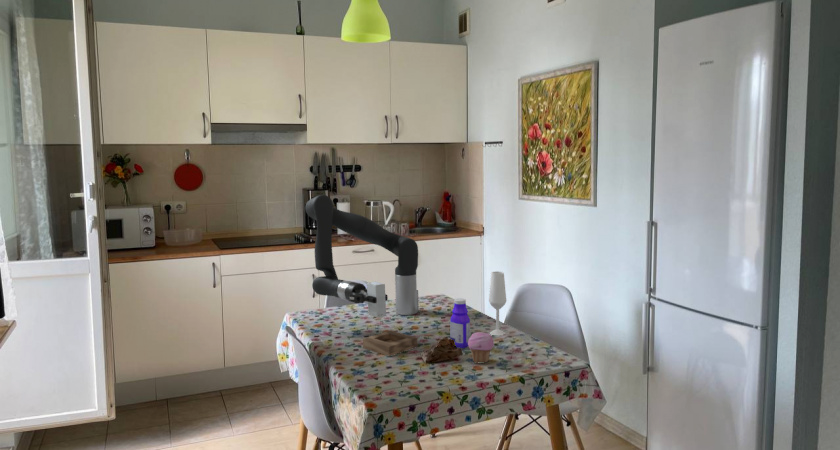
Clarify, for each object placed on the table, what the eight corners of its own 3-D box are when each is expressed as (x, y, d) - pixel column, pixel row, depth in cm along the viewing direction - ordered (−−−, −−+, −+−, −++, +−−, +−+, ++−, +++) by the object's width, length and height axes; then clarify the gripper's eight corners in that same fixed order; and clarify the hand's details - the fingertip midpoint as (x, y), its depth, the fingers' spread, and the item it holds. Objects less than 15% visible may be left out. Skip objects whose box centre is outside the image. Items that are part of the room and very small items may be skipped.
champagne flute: (486, 335, 245) (486, 273, 242) (492, 330, 251) (492, 270, 248) (502, 337, 242) (502, 275, 239) (508, 332, 248) (508, 271, 245)
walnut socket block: (391, 339, 242) (390, 330, 242) (417, 346, 232) (417, 337, 232) (362, 348, 232) (362, 338, 232) (389, 356, 222) (389, 346, 222)
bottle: (473, 346, 232) (472, 299, 230) (463, 350, 228) (462, 302, 226) (457, 342, 237) (457, 296, 235) (447, 345, 233) (447, 299, 231)
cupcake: (467, 357, 220) (467, 329, 219) (492, 357, 220) (492, 328, 219) (468, 366, 211) (468, 336, 210) (494, 366, 211) (494, 336, 210)
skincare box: (386, 316, 233) (386, 283, 231) (376, 318, 230) (376, 285, 229) (377, 312, 238) (376, 280, 236) (367, 314, 235) (366, 282, 233)
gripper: (336, 285, 238) (366, 292, 226) (365, 279, 248) (395, 285, 236) (337, 304, 239) (366, 313, 227) (366, 297, 249) (396, 305, 237)
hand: (381, 299), depth 231 cm, fingers closed on skincare box, 4 cm apart
